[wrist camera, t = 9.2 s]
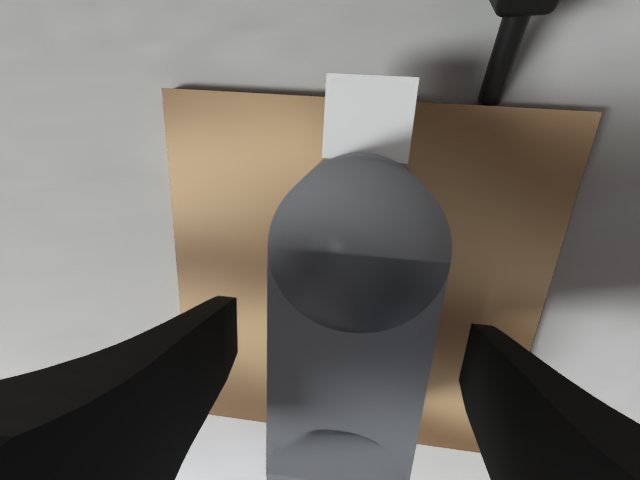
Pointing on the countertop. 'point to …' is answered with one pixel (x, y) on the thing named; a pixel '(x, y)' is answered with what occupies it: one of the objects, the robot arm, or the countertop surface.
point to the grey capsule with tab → (354, 294)
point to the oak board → (428, 167)
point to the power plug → (508, 43)
